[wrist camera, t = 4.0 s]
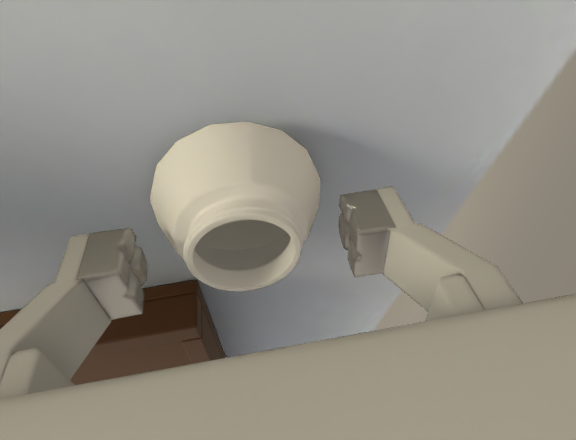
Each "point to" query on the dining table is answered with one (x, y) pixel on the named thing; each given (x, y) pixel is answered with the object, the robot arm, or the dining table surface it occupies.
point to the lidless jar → (236, 203)
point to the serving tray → (152, 336)
